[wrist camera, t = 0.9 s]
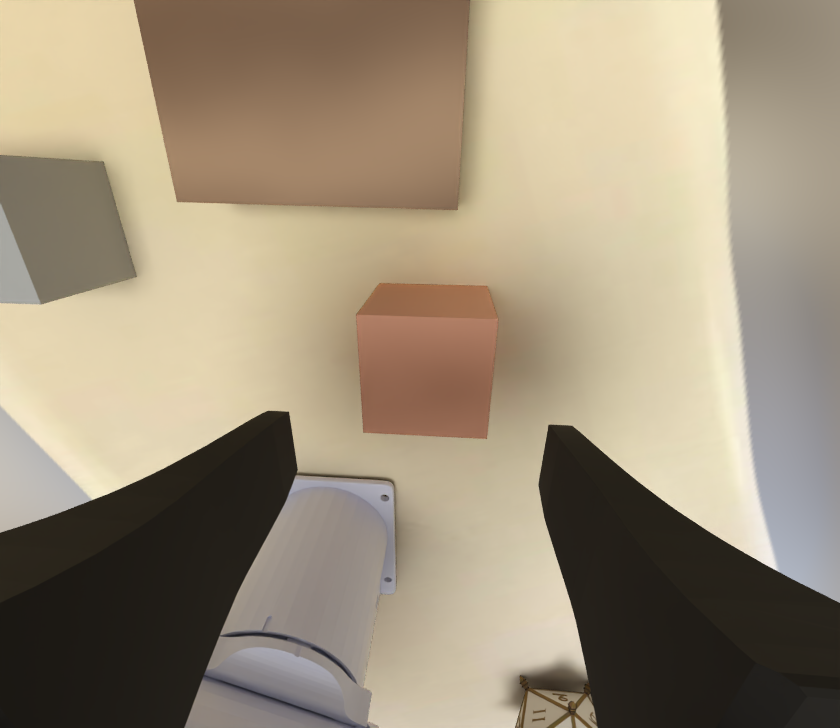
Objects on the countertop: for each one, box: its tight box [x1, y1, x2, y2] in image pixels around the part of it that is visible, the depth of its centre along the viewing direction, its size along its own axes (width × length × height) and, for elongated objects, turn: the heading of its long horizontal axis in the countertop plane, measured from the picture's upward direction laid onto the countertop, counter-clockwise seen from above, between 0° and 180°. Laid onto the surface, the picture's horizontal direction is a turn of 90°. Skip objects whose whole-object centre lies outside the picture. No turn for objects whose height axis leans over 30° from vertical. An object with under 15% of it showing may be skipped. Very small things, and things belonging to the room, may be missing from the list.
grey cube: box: [0, 155, 137, 304], centre depth 16 cm, size 5×5×5 cm
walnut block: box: [134, 0, 470, 210], centre depth 14 cm, size 10×10×4 cm
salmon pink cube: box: [356, 283, 498, 439], centre depth 17 cm, size 5×5×5 cm
